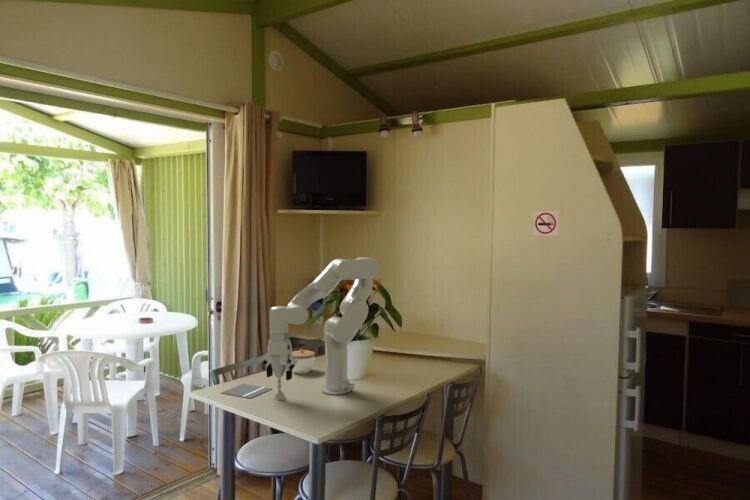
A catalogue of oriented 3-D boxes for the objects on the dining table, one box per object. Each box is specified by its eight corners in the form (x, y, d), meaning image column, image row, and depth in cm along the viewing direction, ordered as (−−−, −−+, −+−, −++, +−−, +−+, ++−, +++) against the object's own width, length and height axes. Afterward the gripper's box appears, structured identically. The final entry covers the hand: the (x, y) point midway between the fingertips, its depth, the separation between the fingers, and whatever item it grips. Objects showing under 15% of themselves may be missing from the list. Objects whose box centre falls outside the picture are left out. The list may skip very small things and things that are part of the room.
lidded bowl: (307, 376, 238) (307, 353, 238) (284, 373, 242) (284, 350, 242) (319, 369, 250) (319, 347, 249) (297, 367, 254) (296, 345, 254)
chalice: (272, 401, 202) (272, 357, 201) (268, 396, 208) (268, 353, 208) (290, 399, 205) (289, 355, 204) (286, 394, 211) (286, 351, 211)
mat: (271, 389, 218) (271, 388, 218) (250, 398, 206) (250, 397, 206) (242, 384, 225) (242, 383, 225) (220, 393, 213) (220, 392, 213)
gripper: (301, 336, 205) (302, 378, 206) (267, 333, 213) (268, 373, 214) (291, 340, 199) (291, 383, 199) (256, 336, 206) (256, 377, 207)
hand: (279, 377), depth 206 cm, fingers open, 9 cm apart
